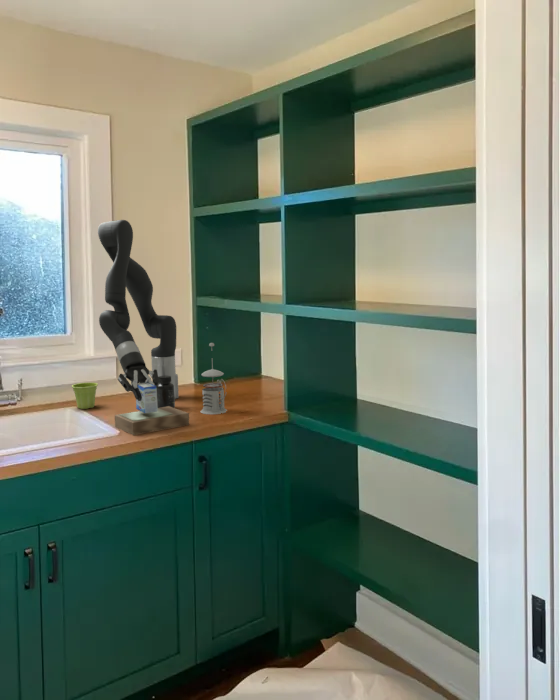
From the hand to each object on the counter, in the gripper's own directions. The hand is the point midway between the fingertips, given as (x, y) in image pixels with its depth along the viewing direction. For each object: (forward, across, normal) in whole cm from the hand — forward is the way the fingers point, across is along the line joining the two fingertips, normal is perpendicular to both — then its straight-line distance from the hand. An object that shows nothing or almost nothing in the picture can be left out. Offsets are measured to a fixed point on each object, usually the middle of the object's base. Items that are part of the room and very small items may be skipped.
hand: (147, 398), depth 214 cm
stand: (+6, +2, +8) cm, 10 cm away
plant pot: (-24, -4, +39) cm, 46 cm away
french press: (+3, +29, +11) cm, 31 cm away
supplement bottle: (-9, +18, +23) cm, 31 cm away
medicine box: (+2, 0, +4) cm, 5 cm away
